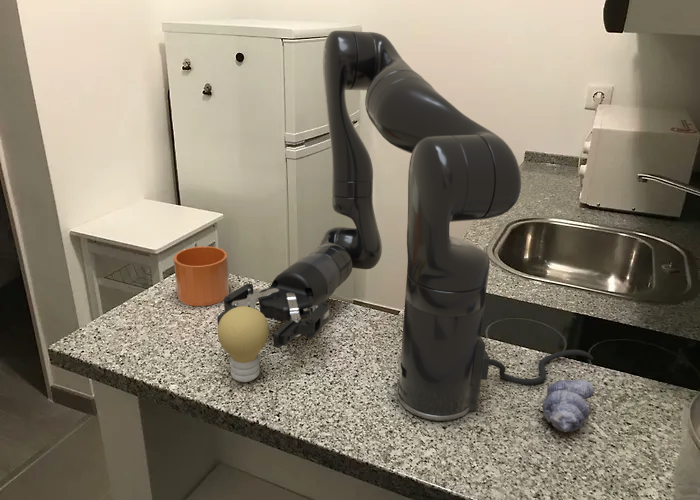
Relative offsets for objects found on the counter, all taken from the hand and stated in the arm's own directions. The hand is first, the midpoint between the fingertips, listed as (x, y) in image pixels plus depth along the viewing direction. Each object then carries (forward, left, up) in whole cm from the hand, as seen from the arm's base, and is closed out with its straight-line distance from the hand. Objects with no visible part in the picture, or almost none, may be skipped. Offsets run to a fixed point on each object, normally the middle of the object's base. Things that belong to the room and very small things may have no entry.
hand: (247, 333), depth 75 cm
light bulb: (0, +1, -6) cm, 6 cm away
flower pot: (+9, -23, -6) cm, 26 cm away
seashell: (-39, +12, -6) cm, 41 cm away
